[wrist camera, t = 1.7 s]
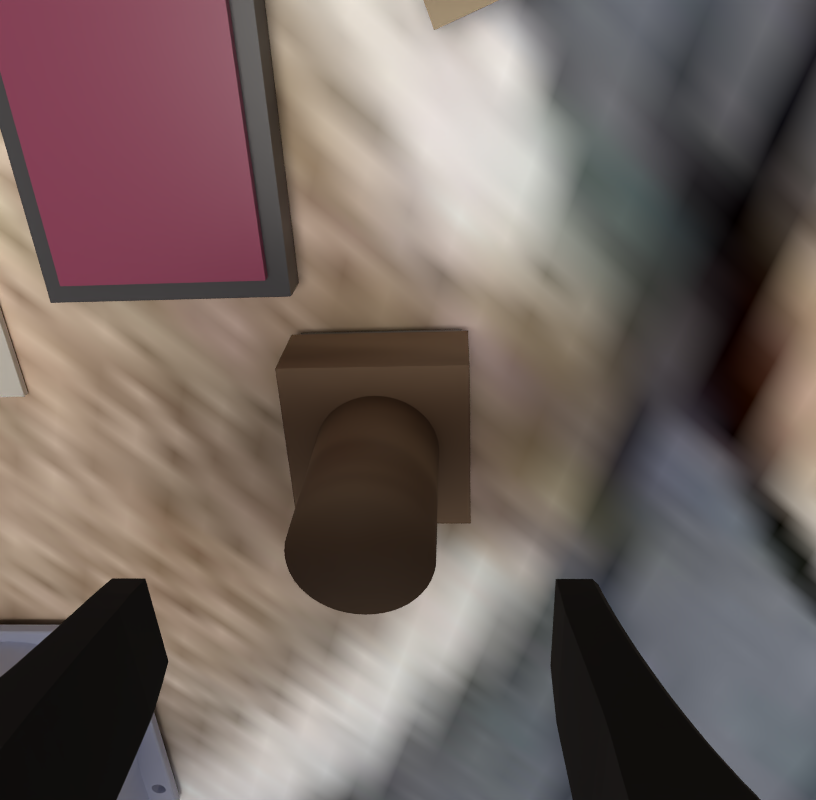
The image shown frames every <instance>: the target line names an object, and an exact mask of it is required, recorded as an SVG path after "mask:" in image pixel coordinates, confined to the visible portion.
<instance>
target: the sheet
mask: <svg viewBox="0 0 816 800" xmlns="http://www.w3.org/2000/svg"><path fill="white" fill-rule="evenodd" d="M27 394H28V391H27V388H26V385H25V382H24V379H23V376H22V373H21V370H20V367H19V364H18V361H17V358H16V354H15V351H14V348H13V345H12V342H11V339H10V336H9V333H8V330H7V327H6V324H5V321H4V317H3V314H2V311H1V308H0V397H25V396H26V395H27Z"/></svg>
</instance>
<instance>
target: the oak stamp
mask: <svg viewBox="0 0 816 800" xmlns="http://www.w3.org/2000/svg"><path fill="white" fill-rule="evenodd" d="M496 1H498V0H424V3H425V6H426V8H427V11H428V14H429V17H430V20H431V22H432V25H433V28H434V30H435V29H438V28H440V27H442V26H444V25H446V24H448V23H451V22H453V21H455V20H457V19H459V18H461V17H464V16H466V15H468V14H470V13H472V12H474V11H477V10H479V9H481V8H483V7H485V6H487V5H490V4H492V3H494V2H496Z"/></svg>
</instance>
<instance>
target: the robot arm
mask: <svg viewBox="0 0 816 800" xmlns="http://www.w3.org/2000/svg"><path fill="white" fill-rule="evenodd" d="M167 665H168V658H167V655H166V651H165V648H164V644H163V640H162V637H161V633H160V630H159V626H158V623H157V619H156V615H155V612H154V608H153V605H152V601H151V597H150V594H149V590H148V587H147V583H146V580H145V579H111V580H110V581H109V582H108V583H106V584H105V585H104V586H103V587H102V588H100V589H99V590H98V591H97V592H96V593H95V594H94V595H93V596H91V597H90V598H89V599H88V600H87V601H86V602H85V603H84V604H83V605H81V606H80V607H79V608H78V609H77V610H76V611H75V612H74V613H73V614H72V615H70V616H69V617H68V618H67V619H66V620H65V621H64V622H63V623H62V624H60V625H0V800H180V796H179V793H178V789H177V786H176V783H175V780H174V776H173V773H172V770H171V766H170V763H169V760H168V757H167V753H166V750H165V747H164V743H163V740H162V737H161V733H160V730H159V727H158V724H157V720H156V717H155V714H154V710H155V706H156V703H157V700H158V697H159V693H160V690H161V686H162V683H163V679H164V675H165V672H166V668H167ZM551 674H552V684H553V694H554V703H555V712H556V721H557V727H558V732H559V737H560V742H561V746H562V751H563V756H564V760H565V765H566V770H567V775H568V779H569V784H570V788H571V793H572V798H573V800H760V799H759V798H758V797H757V795H756V794H755V793H754V792H753V791H752V790H751V789H750V788H749V787H748V786H747V785H746V784H745V783H744V782H743V781H742V780H741V779H740V778H739V777H738V776H737V775H736V774H735V772H734V771H733V770H732V769H731V768H730V767H729V766H728V765H727V764H726V763H725V761H724V760H723V759H722V758H721V757H720V756H719V755H718V754H717V753H716V751H715V750H714V749H713V748H712V747H711V746H710V744H709V743H708V742H707V741H706V740H705V739H704V737H703V736H702V735H701V734H700V733H699V731H698V730H697V729H696V728H695V727H694V725H693V724H692V723H691V722H690V720H689V719H688V718H687V717H686V715H685V714H684V713H683V712H682V710H681V709H680V708H679V707H678V705H677V704H676V703H675V701H674V700H673V699H672V698H671V696H670V695H669V694H668V692H667V691H666V690H665V688H664V687H663V686H662V684H661V683H660V681H659V680H658V679H657V677H656V676H655V674H654V673H653V672H652V670H651V669H650V667H649V666H648V664H647V663H646V662H645V660H644V659H643V657H642V656H641V655H640V653H639V652H638V650H637V649H636V647H635V646H634V644H633V643H632V641H631V640H630V638H629V636H628V635H627V633H626V632H625V630H624V629H623V627H622V625H621V624H620V622H619V621H618V619H617V617H616V616H615V614H614V612H613V611H612V609H611V607H610V605H609V604H608V602H607V600H606V598H605V597H604V595H603V593H602V591H601V589H600V587H599V585H598V584H597V583H596V582H595V581H594V580H593V579H556V586H555V602H554V618H553V634H552V650H551Z"/></svg>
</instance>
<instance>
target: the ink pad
mask: <svg viewBox="0 0 816 800" xmlns="http://www.w3.org/2000/svg"><path fill="white" fill-rule="evenodd" d="M0 129H1V132H2V136H3V139H4V143H5V146H6V150H7V153H8V156H9V160H10V163H11V167H12V170H13V174H14V177H15V181H16V184H17V188H18V191H19V194H20V198H21V201H22V205H23V208H24V212H25V215H26V219H27V222H28V226H29V229H30V233H31V236H32V239H33V243H34V246H35V250H36V253H37V257H38V260H39V264H40V267H41V271H42V274H43V277H44V281H45V284H46V288H47V291H48V295H49V298H50V302H51V303H61V302H99V301H136V300H174V299H211V298H249V297H287V296H291V295H292V294H293V292H294V290H295V288H296V286H297V284H298V275H297V266H296V258H295V250H294V241H293V233H292V225H291V217H290V208H289V200H288V192H287V184H286V175H285V167H284V159H283V151H282V142H281V134H280V126H279V118H278V109H277V101H276V93H275V84H274V76H273V68H272V60H271V51H270V43H269V35H268V27H267V18H266V10H265V2H264V0H0Z"/></svg>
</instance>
